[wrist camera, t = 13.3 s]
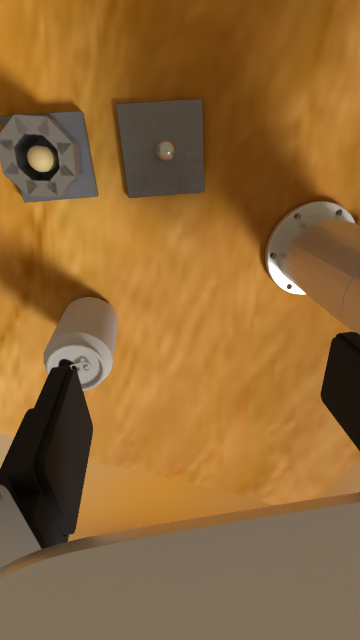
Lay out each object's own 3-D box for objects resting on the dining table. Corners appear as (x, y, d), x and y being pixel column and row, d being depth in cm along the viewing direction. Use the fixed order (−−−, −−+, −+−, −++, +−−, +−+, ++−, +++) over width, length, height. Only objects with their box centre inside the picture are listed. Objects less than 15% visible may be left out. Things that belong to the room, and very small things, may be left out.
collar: (42, 104, 29) (27, 96, 26) (95, 160, 32) (89, 160, 28) (3, 156, 31) (-17, 155, 27) (56, 205, 34) (45, 211, 30)
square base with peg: (83, 113, 31) (70, 102, 26) (98, 195, 35) (90, 202, 29) (4, 118, 31) (-27, 108, 25) (28, 200, 35) (6, 208, 29)
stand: (200, 100, 32) (212, 88, 27) (203, 191, 36) (213, 196, 31) (116, 105, 31) (111, 94, 26) (129, 197, 36) (126, 203, 30)
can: (54, 303, 41) (24, 353, 30) (106, 287, 41) (94, 331, 30) (78, 346, 44) (59, 404, 34) (126, 332, 44) (121, 386, 34)
